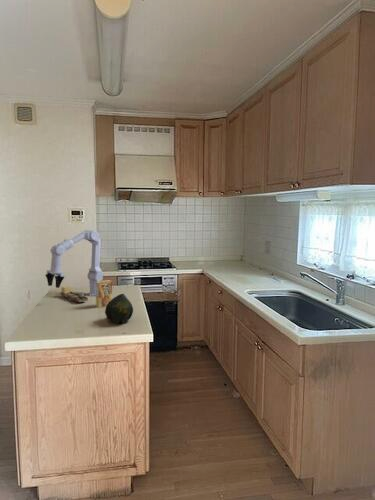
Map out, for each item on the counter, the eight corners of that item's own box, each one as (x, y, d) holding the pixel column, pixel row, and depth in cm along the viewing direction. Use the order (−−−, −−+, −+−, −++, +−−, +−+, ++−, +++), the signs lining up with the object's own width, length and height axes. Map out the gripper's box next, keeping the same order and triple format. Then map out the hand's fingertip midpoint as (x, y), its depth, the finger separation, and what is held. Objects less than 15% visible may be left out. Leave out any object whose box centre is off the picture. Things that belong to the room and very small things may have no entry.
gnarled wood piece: (88, 302, 232) (88, 293, 231) (78, 304, 227) (78, 295, 226) (69, 295, 248) (69, 287, 247) (59, 297, 243) (59, 288, 242)
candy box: (109, 304, 229) (109, 279, 227) (112, 305, 225) (112, 281, 223) (95, 306, 223) (95, 281, 221) (99, 308, 220) (98, 282, 218)
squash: (101, 316, 187) (120, 293, 189) (99, 309, 201) (117, 287, 203) (122, 332, 191) (141, 310, 192) (119, 324, 205) (137, 303, 207)
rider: (70, 292, 244) (70, 286, 243) (64, 293, 241) (64, 287, 241) (67, 291, 247) (67, 285, 246) (61, 292, 244) (61, 286, 243)
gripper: (43, 263, 228) (40, 285, 228) (57, 266, 220) (55, 288, 220) (53, 263, 234) (50, 284, 234) (67, 266, 226) (65, 288, 226)
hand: (53, 286), depth 227 cm, fingers open, 7 cm apart
